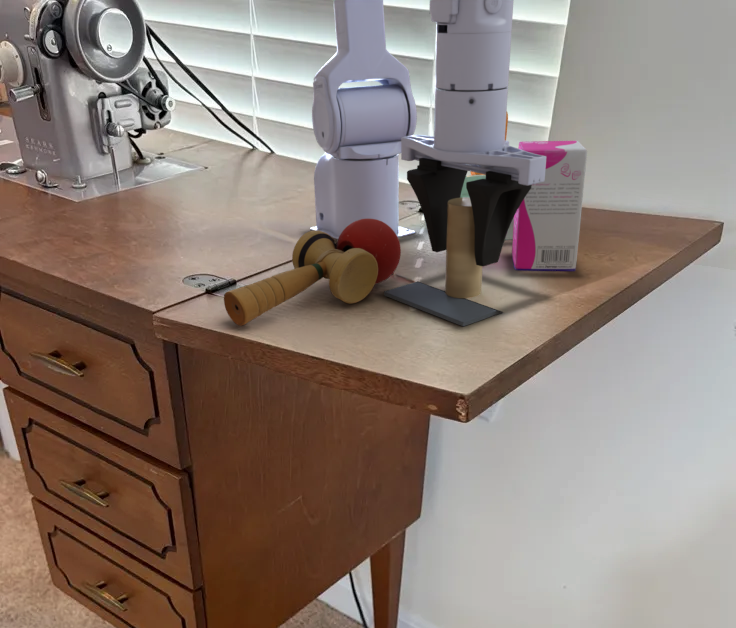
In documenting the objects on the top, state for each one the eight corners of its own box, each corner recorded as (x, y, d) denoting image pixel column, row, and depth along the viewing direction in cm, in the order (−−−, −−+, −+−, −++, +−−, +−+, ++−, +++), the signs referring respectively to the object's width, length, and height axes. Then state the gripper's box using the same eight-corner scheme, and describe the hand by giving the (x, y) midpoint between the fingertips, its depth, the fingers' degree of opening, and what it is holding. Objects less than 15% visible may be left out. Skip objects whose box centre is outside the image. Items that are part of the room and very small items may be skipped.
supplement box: (568, 257, 80) (580, 138, 74) (575, 275, 75) (589, 150, 69) (510, 256, 80) (518, 139, 75) (513, 275, 75) (522, 150, 70)
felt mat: (383, 295, 71) (383, 291, 71) (462, 271, 76) (462, 267, 76) (463, 326, 64) (463, 322, 64) (543, 298, 70) (543, 293, 69)
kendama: (273, 354, 63) (427, 273, 72) (249, 280, 60) (412, 205, 70) (224, 343, 69) (372, 269, 78) (200, 275, 66) (356, 206, 75)
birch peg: (437, 292, 70) (439, 201, 66) (462, 284, 72) (466, 195, 68) (463, 301, 68) (466, 208, 64) (488, 292, 70) (493, 201, 66)
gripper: (578, 89, 59) (560, 265, 66) (443, 77, 69) (439, 231, 76) (515, 98, 55) (503, 284, 62) (382, 84, 65) (383, 245, 72)
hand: (464, 256), depth 68 cm, fingers open, 5 cm apart
